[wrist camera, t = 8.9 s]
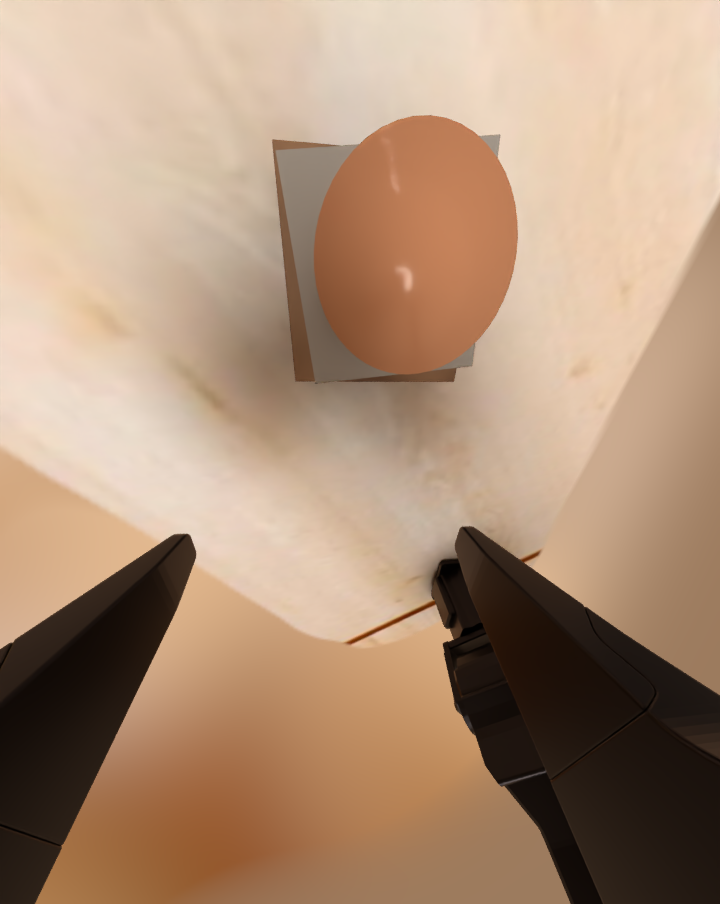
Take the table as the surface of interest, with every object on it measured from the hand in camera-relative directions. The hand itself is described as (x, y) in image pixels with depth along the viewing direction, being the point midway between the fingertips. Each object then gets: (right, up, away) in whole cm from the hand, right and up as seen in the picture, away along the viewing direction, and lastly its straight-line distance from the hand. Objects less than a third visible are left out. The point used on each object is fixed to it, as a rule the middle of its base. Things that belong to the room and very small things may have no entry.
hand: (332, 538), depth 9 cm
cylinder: (+2, +10, +2) cm, 11 cm away
